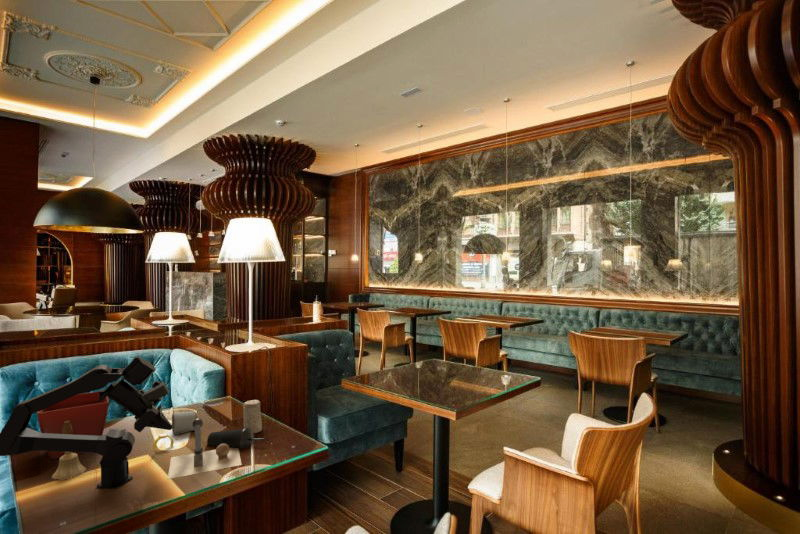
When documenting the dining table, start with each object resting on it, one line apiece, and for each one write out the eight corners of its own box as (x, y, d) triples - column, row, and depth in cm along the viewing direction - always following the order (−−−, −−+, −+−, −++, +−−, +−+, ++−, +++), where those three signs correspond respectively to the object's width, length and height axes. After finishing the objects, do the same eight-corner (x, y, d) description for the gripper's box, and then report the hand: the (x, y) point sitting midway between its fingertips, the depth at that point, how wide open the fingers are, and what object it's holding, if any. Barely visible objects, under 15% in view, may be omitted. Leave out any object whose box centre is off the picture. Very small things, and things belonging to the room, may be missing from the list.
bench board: (167, 484, 126) (167, 466, 126) (171, 462, 140) (170, 446, 140) (241, 469, 134) (241, 453, 134) (237, 450, 148) (237, 435, 148)
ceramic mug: (198, 432, 166) (198, 411, 166) (174, 437, 161) (173, 416, 161) (193, 424, 174) (192, 405, 174) (170, 429, 169) (169, 409, 170)
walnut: (216, 461, 136) (215, 447, 136) (215, 456, 140) (215, 442, 140) (229, 459, 138) (229, 445, 138) (229, 454, 142) (228, 440, 142)
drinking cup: (209, 456, 150) (262, 457, 146) (201, 441, 147) (255, 440, 142) (221, 438, 157) (272, 438, 152) (213, 423, 153) (265, 422, 149)
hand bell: (58, 482, 128) (57, 428, 128) (46, 476, 132) (45, 423, 132) (91, 471, 135) (89, 419, 135) (78, 465, 139) (77, 415, 139)
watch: (170, 449, 151) (171, 431, 151) (174, 451, 149) (175, 433, 149) (151, 454, 146) (152, 435, 147) (155, 456, 145) (156, 437, 145)
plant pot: (107, 434, 165) (106, 389, 165) (110, 450, 150) (109, 401, 150) (42, 447, 154) (41, 399, 154) (37, 466, 139) (36, 413, 139)
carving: (256, 429, 167) (255, 397, 167) (265, 434, 162) (265, 401, 162) (240, 433, 163) (239, 401, 163) (249, 439, 158) (248, 405, 158)
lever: (192, 460, 134) (192, 421, 134) (193, 454, 137) (192, 417, 137) (203, 458, 135) (202, 419, 135) (203, 453, 139) (202, 416, 139)
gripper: (146, 382, 122) (191, 416, 127) (153, 369, 139) (192, 398, 144) (114, 415, 119) (161, 448, 124) (125, 397, 136) (166, 426, 141)
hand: (171, 428), depth 133 cm, fingers closed
